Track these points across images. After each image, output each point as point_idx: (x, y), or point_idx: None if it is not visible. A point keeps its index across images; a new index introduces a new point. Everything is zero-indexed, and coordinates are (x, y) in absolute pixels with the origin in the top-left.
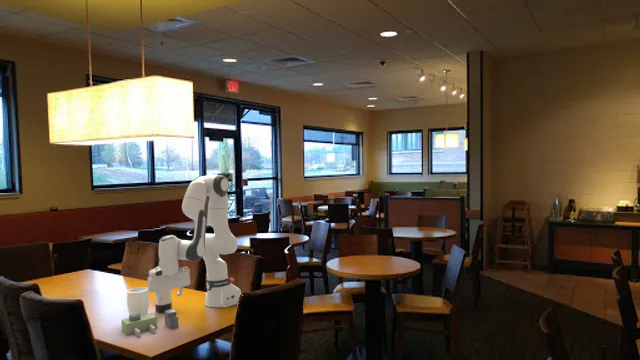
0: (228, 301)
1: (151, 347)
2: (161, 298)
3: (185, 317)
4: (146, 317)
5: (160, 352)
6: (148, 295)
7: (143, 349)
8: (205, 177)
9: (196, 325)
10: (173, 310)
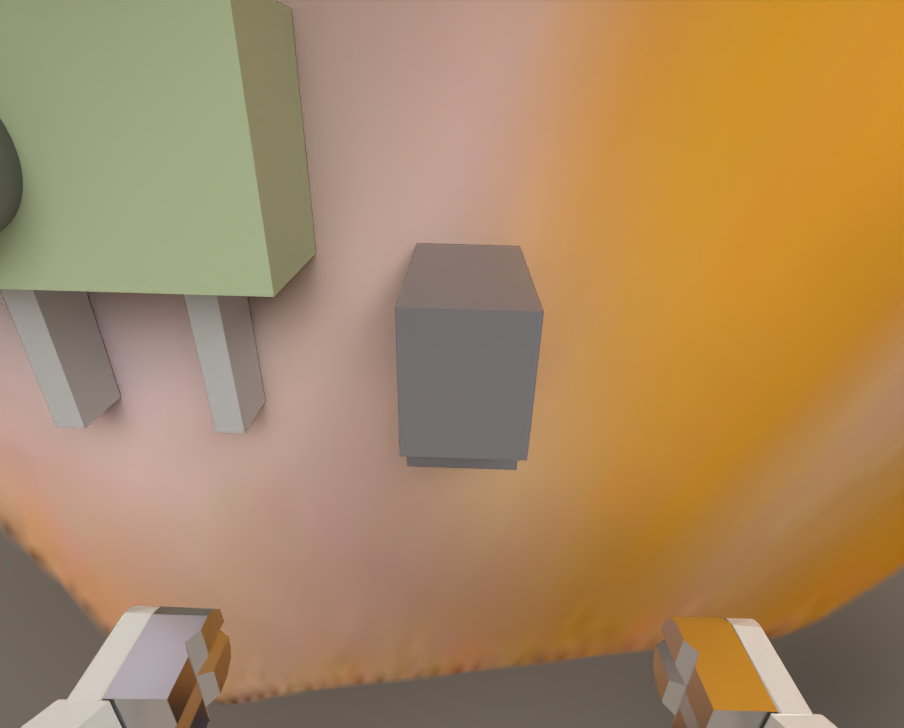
0: None
1: None
2: (203, 700)
3: (738, 158)
4: (121, 202)
5: (235, 698)
6: None
7: None
8: None
9: (645, 483)
10: (517, 394)
